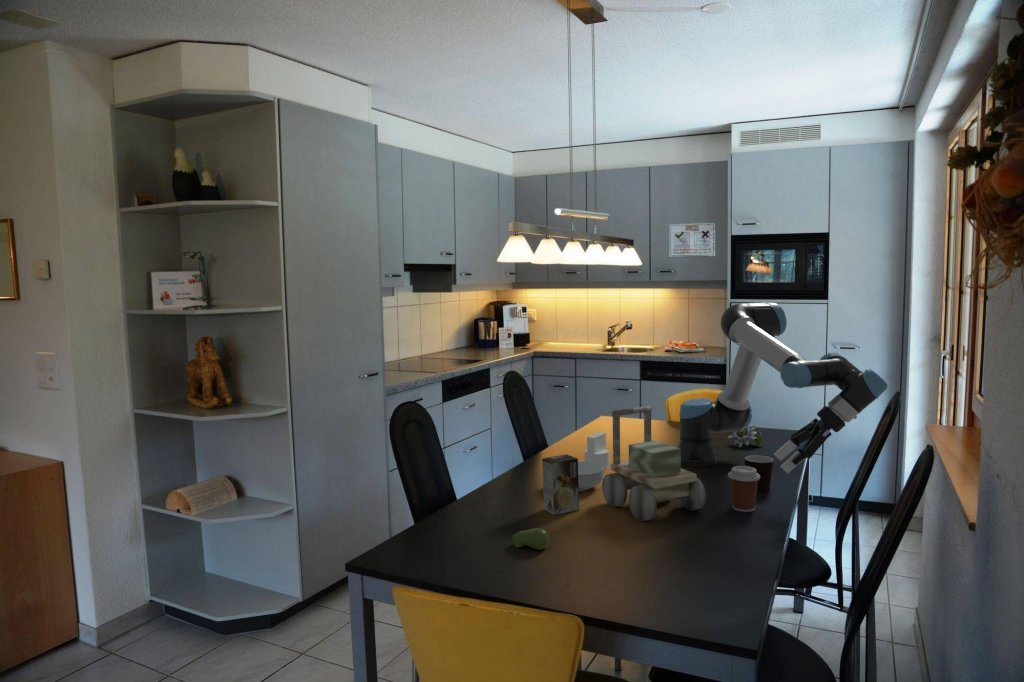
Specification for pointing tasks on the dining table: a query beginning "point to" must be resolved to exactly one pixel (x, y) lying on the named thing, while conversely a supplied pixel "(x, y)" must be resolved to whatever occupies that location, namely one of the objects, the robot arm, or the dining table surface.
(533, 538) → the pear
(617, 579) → the dining table surface
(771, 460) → the coffee mug
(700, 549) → the dining table surface
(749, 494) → the coffee cup
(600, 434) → the base with upright slab
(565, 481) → the coffee box
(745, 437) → the passion flower
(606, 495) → the wooden trolley
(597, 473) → the cereal bowl
